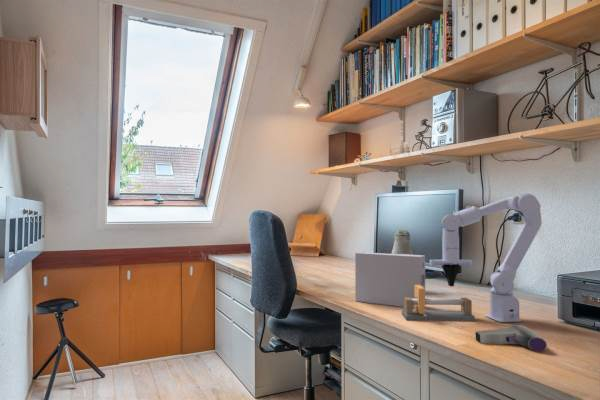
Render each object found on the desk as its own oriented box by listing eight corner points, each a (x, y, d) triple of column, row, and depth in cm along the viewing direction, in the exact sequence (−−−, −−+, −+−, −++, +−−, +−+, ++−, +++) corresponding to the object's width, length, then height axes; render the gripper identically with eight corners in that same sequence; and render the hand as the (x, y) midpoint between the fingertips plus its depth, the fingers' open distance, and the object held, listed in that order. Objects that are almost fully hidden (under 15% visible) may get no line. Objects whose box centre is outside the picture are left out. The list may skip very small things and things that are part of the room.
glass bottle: (390, 291, 197) (389, 230, 198) (392, 287, 207) (392, 229, 208) (412, 293, 194) (411, 230, 195) (413, 289, 204) (413, 229, 204)
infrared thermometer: (474, 343, 126) (525, 339, 126) (493, 357, 114) (549, 353, 114) (473, 327, 126) (524, 323, 126) (492, 339, 114) (548, 336, 114)
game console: (360, 298, 182) (360, 251, 183) (425, 306, 168) (425, 255, 169) (355, 301, 177) (355, 252, 178) (421, 309, 163) (421, 256, 164)
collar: (420, 309, 154) (420, 285, 155) (424, 313, 147) (424, 288, 148) (414, 309, 154) (414, 284, 155) (418, 313, 147) (418, 288, 148)
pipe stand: (466, 315, 154) (466, 296, 154) (474, 321, 146) (474, 301, 146) (401, 314, 155) (401, 295, 155) (406, 320, 147) (406, 300, 147)
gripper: (467, 246, 158) (467, 284, 158) (427, 246, 159) (427, 283, 159) (474, 248, 151) (474, 287, 151) (432, 248, 152) (432, 287, 152)
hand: (451, 285), depth 154 cm, fingers closed
